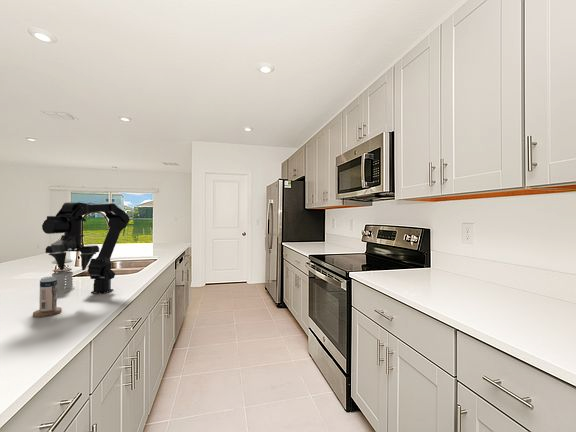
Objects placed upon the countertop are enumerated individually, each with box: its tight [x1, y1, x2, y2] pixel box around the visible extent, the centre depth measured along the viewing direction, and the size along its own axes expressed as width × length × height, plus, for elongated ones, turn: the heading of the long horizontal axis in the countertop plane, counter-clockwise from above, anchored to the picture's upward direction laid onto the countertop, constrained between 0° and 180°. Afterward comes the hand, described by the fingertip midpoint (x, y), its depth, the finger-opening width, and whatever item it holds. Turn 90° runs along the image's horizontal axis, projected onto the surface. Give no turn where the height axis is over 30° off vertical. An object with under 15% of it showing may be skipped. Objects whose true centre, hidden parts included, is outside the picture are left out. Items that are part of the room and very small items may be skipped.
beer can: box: [38, 275, 58, 312], centre depth 103 cm, size 5×5×12 cm
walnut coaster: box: [32, 306, 63, 318], centre depth 103 cm, size 8×8×1 cm
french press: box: [51, 238, 76, 294], centre depth 135 cm, size 10×12×25 cm
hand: (72, 270), depth 118 cm, fingers open, 9 cm apart
